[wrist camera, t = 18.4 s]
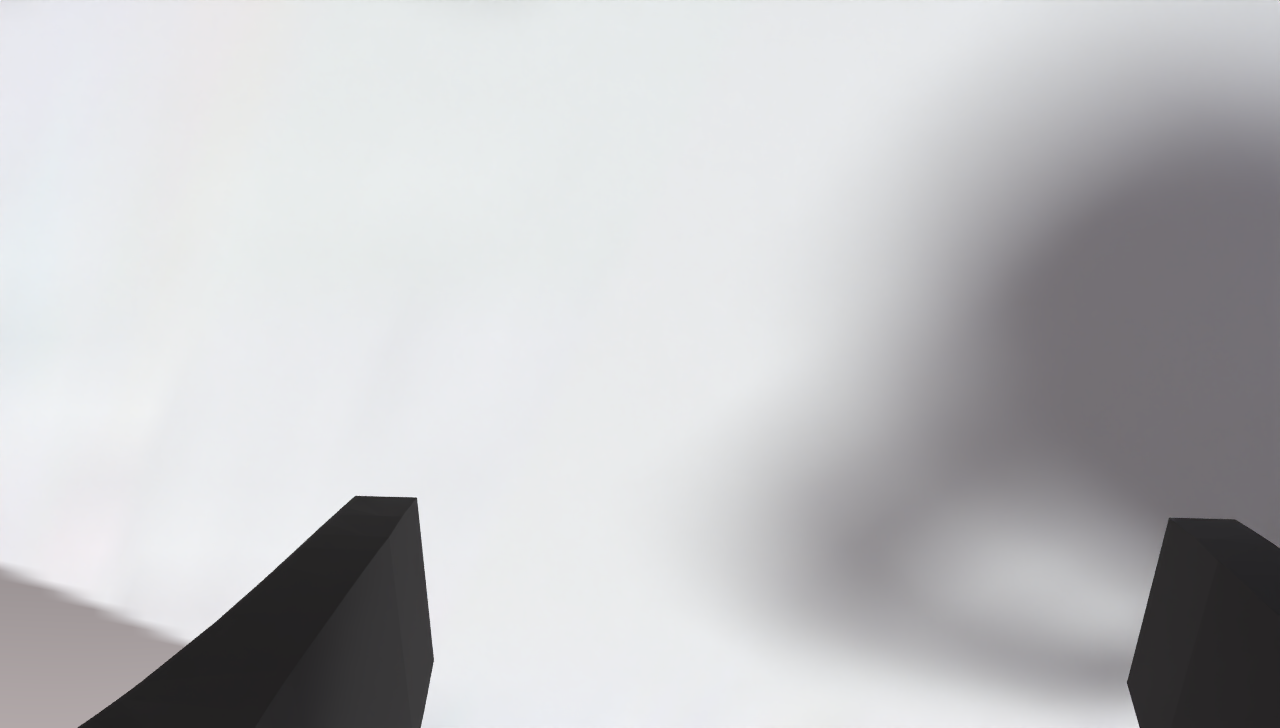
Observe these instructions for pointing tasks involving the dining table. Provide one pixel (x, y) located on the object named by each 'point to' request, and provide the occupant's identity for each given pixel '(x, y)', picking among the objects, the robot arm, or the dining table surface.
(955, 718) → the dining table surface
